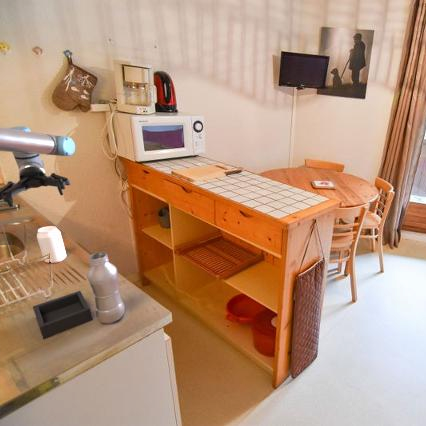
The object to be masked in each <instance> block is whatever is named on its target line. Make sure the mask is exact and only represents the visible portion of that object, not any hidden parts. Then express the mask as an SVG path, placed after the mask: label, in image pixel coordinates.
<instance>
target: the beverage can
mask: <svg viewBox="0 0 426 426" xmlns="http://www.w3.org/2000/svg"><path fill="white" fill-rule="evenodd" d="M36 239H37V242H38V246H39V249H40V252H41V255H42V257H43V256H45V255H47V254H49V253H50V259H46V260H44V259H43V262H45V263H48V264H56V263H60V262H62V261H63V260H65V259H66V258H67V252H66V248H65V244H64V241H63V237H62V233H61V231H60V230H59V229H58V228H57V226H55V225H47V226H43V227H40V228H38V229H37V234H36ZM49 260H50V262H51V263H49Z"/></svg>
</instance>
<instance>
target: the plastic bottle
mask: <svg viewBox="0 0 426 426" xmlns="http://www.w3.org/2000/svg"><path fill="white" fill-rule="evenodd" d="M89 263H90V264H89V265H90V268H89V269H88V271H87V275H86V278H87V281H88V283H89V286H90V287H91V290H92V293H93V297H94V299H95V301H94V302H95V317H96V320H98V322H100V323H102V324H111V323H115V322H117V321H118V320H121V318H122V317H123V315H124V313H125V308H126V307H125V304H124V302H123V299H122V298H121V294H120V291H119V284H118V276H119V275H118V268H117V267H116V266H115V265H114V264H113V263H112V262H110V258H109V257H108V253H107V252H105V251H100V252H95V253H92V254H91V255H90V256H89Z"/></svg>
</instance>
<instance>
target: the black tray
mask: <svg viewBox="0 0 426 426" xmlns="http://www.w3.org/2000/svg"><path fill="white" fill-rule="evenodd" d="M32 309H33V312H34V315H35V318H36V322H37V325H38V328H39V331H40V333H41V337H42V339H43V340H46V339H48V338H50V337H51V338H52V337H54V336H56V335H58V334H61V333H63V332H66V331H69V330H71V329H74V328H76V327H78V326H81V325H83V324H87V323H89V322H91V321H93V320H94V318H93V315H92V311H91V308H90V306H89V304H88V302H87V301H86V299H85V297H84V295H83V292H82V291H81V290H78V291H75V292H71V293H69V294H66V295H63V296H60V297H57V298H54V299H51V300H48V301H45V302H41V303H39V304H36V305H33V306H32Z"/></svg>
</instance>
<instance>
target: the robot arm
mask: <svg viewBox="0 0 426 426" xmlns="http://www.w3.org/2000/svg"><path fill="white" fill-rule="evenodd" d="M75 151H76V143H75V141H74V140H73V138H71V137H70V136H66V135H65V136H64V135H55V134H54V135H53V134H47V133H42V132H35V131H31V129H30V128H29V127H27V126H12V127H2V126H1V127H0V152H6V153H7V152H9V153H12V156H13V158H14V160H15V162H16V165H17V167H18V177H19V178H18V179H19V180H18V181H16V182H14V181H12V180H11V181H10V180H9V181H7V183H6V184H5V185H3V186H2V187H1V188H0V201H3V202H4V203H6V204H7V205H8V206H9V208H13V207H14V199H13V197H15V196H16V195H18V194H20V193H22V192H26V191H28V190H30V189H38V188H41V187H56V188H57V190H58V193H59V195H60V196H63V195H64V192H63V190H65V189H66V186H71V182H70V179H69V178H68V177H66V176H63V175H59V174H56V173H55V172H52V173H50V175H47V174H46V171H45V164H44V162H43V160H42V158H41V156H40V155H46V156H58V157H59V156H60V157H69V156H72V155H74V153H75Z"/></svg>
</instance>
